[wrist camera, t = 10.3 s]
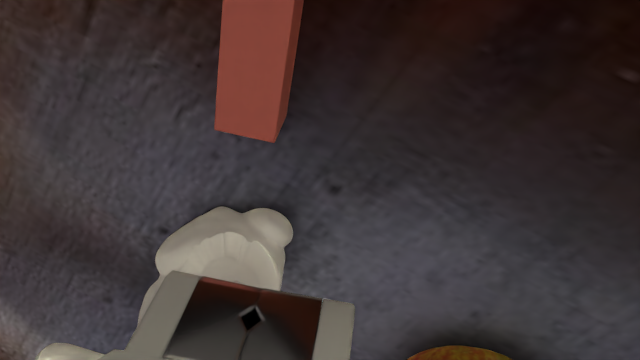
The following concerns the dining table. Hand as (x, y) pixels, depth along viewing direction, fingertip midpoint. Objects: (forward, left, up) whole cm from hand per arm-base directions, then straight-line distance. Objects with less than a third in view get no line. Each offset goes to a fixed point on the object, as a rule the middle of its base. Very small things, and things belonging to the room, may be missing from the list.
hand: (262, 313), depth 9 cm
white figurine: (+13, -5, -16) cm, 21 cm away
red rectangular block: (0, -3, -15) cm, 16 cm away
